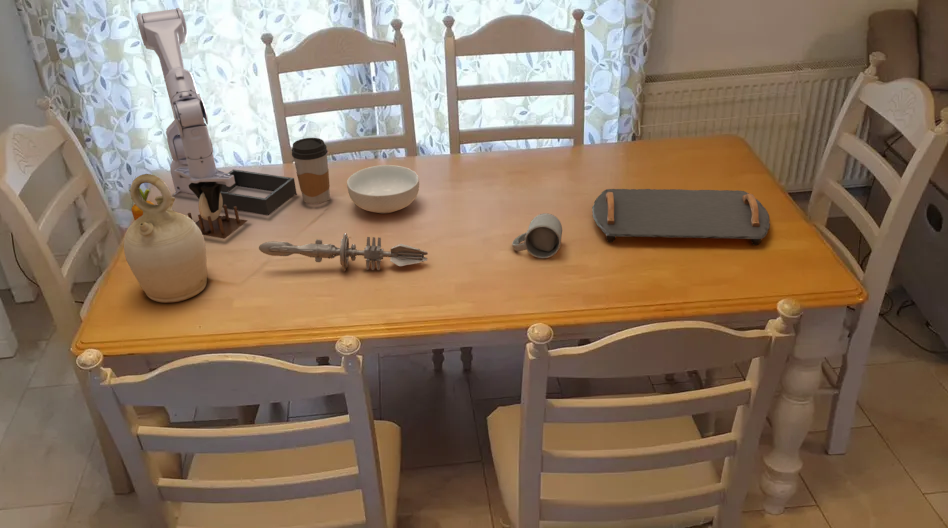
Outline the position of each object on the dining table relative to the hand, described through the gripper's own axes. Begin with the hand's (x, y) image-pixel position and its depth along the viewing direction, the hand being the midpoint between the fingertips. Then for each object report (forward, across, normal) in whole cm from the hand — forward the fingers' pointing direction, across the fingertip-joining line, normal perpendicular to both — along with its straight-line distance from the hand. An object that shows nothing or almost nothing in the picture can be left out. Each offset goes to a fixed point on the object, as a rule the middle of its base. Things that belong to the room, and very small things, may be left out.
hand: (212, 210), depth 192 cm
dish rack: (+5, 0, 0) cm, 5 cm away
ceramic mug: (+5, +73, +14) cm, 75 cm away
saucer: (+2, 0, 0) cm, 2 cm away
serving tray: (+5, +99, +36) cm, 106 cm away
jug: (+5, +7, -24) cm, 26 cm away
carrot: (+5, -8, -12) cm, 15 cm away
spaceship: (+5, +37, -6) cm, 38 cm away
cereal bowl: (+5, +32, +23) cm, 40 cm away
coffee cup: (+5, +15, +20) cm, 26 cm away
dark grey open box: (+5, 0, +15) cm, 16 cm away
